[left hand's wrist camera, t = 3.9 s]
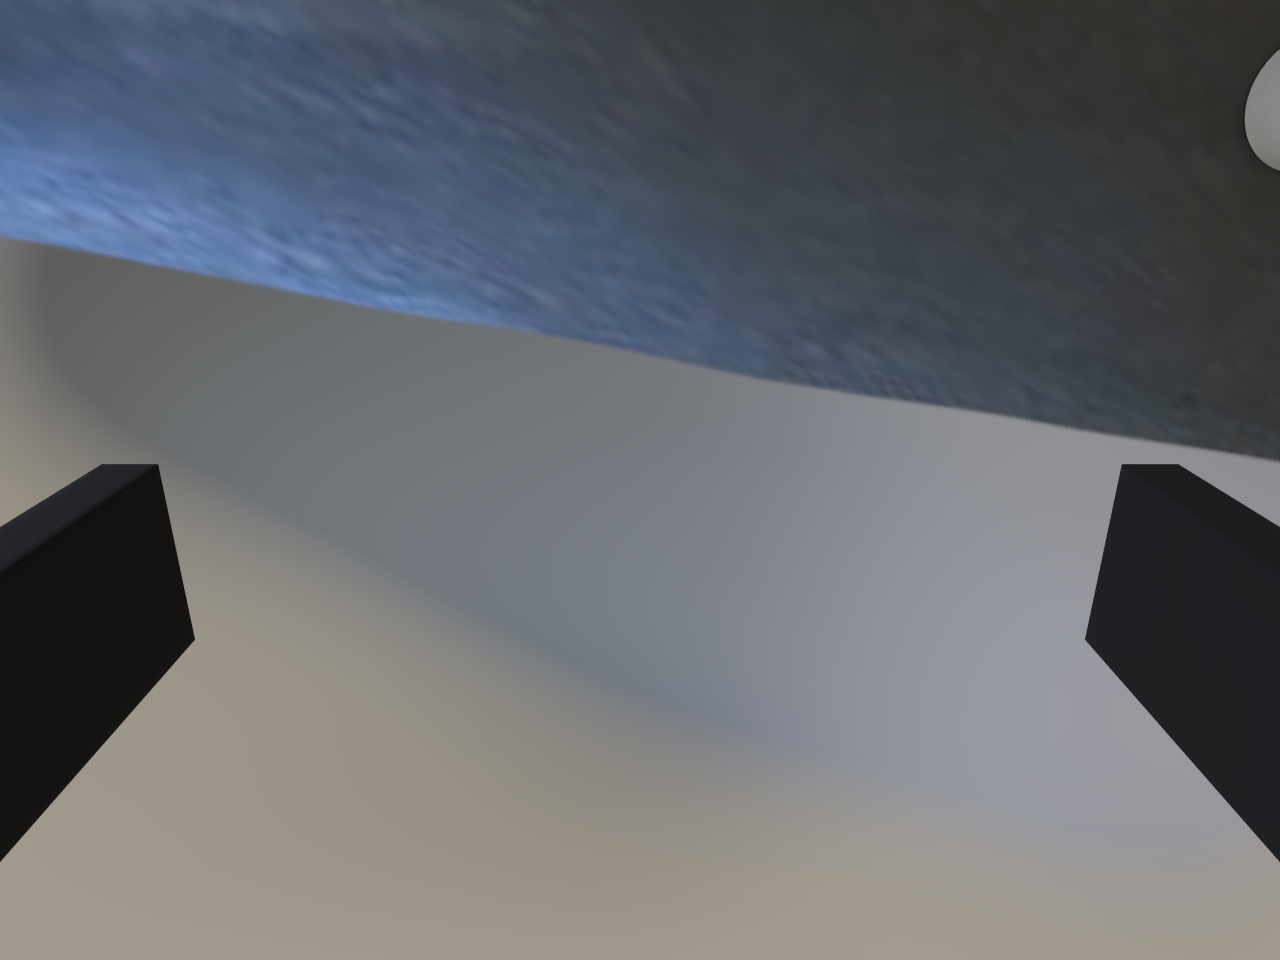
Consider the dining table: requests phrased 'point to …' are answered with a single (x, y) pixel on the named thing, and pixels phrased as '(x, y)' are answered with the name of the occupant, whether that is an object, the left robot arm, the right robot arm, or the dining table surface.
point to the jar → (1265, 113)
